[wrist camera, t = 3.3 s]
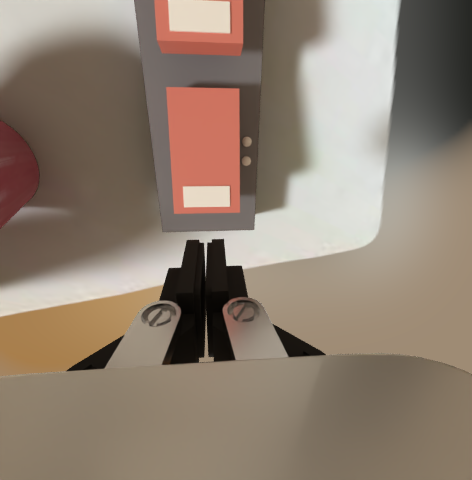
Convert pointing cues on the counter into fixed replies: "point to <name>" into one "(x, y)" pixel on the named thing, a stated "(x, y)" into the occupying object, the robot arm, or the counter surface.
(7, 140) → the plant pot
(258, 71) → the rocker switch box
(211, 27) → the rocker
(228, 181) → the plate
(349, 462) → the robot arm
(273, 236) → the counter surface
